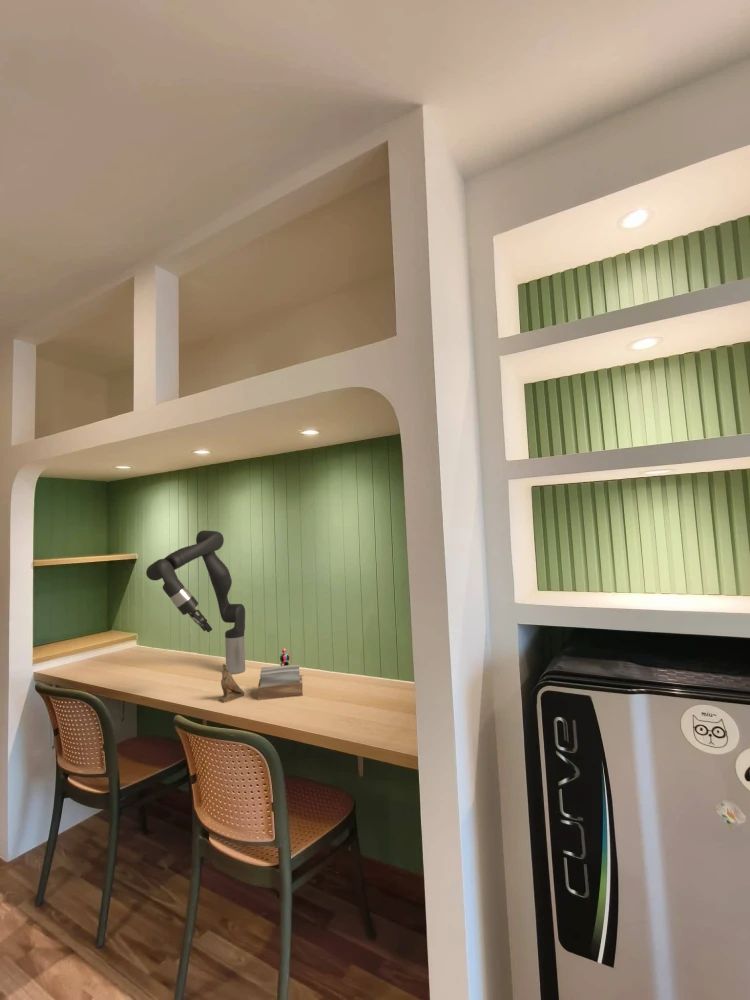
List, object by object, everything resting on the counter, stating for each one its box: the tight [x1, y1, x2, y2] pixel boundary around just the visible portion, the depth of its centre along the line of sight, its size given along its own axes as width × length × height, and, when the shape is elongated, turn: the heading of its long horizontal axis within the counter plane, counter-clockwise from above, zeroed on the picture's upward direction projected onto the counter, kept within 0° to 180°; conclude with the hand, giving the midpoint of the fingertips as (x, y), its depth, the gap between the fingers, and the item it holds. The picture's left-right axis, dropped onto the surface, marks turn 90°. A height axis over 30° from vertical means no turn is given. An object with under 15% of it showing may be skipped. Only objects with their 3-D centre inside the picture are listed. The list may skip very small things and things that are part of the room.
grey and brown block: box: [257, 664, 304, 701], centre depth 207 cm, size 12×18×10 cm, turn 100°
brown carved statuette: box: [218, 663, 245, 703], centre depth 203 cm, size 11×5×16 cm, turn 139°
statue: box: [279, 648, 304, 677], centre depth 225 cm, size 11×9×15 cm
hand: (208, 630), depth 206 cm, fingers open, 8 cm apart
